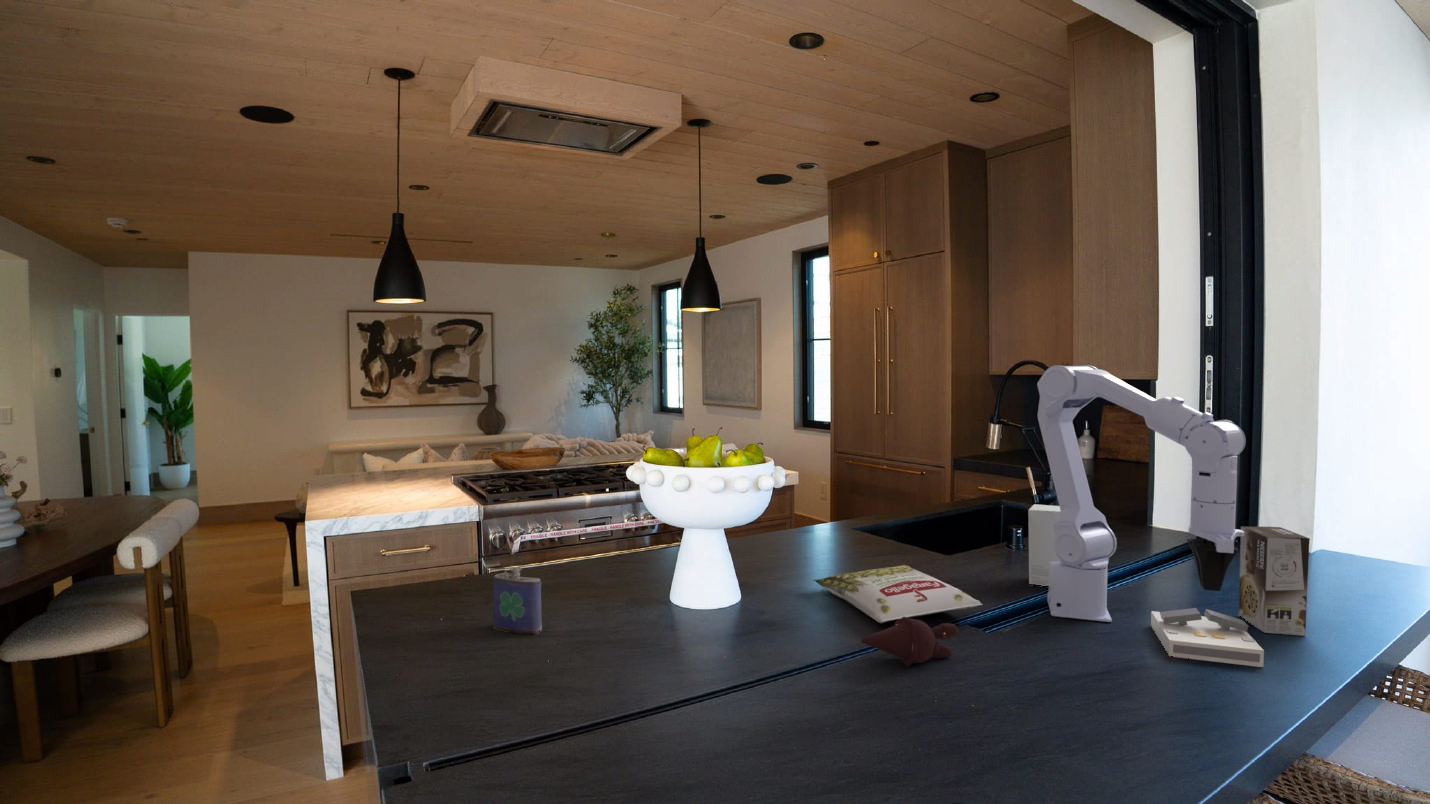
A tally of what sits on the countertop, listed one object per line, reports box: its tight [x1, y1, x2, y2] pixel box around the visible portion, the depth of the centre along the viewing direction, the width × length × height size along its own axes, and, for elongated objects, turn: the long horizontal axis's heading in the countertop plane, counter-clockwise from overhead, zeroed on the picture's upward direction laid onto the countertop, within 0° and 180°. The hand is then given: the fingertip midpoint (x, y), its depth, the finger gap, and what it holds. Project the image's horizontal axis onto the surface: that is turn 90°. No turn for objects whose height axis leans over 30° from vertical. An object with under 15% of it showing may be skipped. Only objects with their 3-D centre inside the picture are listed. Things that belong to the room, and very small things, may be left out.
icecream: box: [860, 617, 959, 667], centre depth 112 cm, size 7×7×15 cm
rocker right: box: [1203, 608, 1250, 633], centre depth 118 cm, size 5×3×2 cm, turn 70°
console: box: [1150, 610, 1265, 668], centre depth 118 cm, size 12×14×3 cm
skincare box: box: [1027, 503, 1061, 587], centre depth 150 cm, size 8×7×16 cm
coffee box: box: [1238, 525, 1311, 637], centre depth 127 cm, size 9×6×16 cm
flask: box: [492, 566, 543, 636], centre depth 126 cm, size 9×3×11 cm, turn 68°
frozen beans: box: [812, 564, 984, 624], centre depth 138 cm, size 21×6×25 cm
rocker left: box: [1159, 607, 1202, 626], centre depth 120 cm, size 5×3×2 cm, turn 69°
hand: (1210, 588), depth 115 cm, fingers closed
